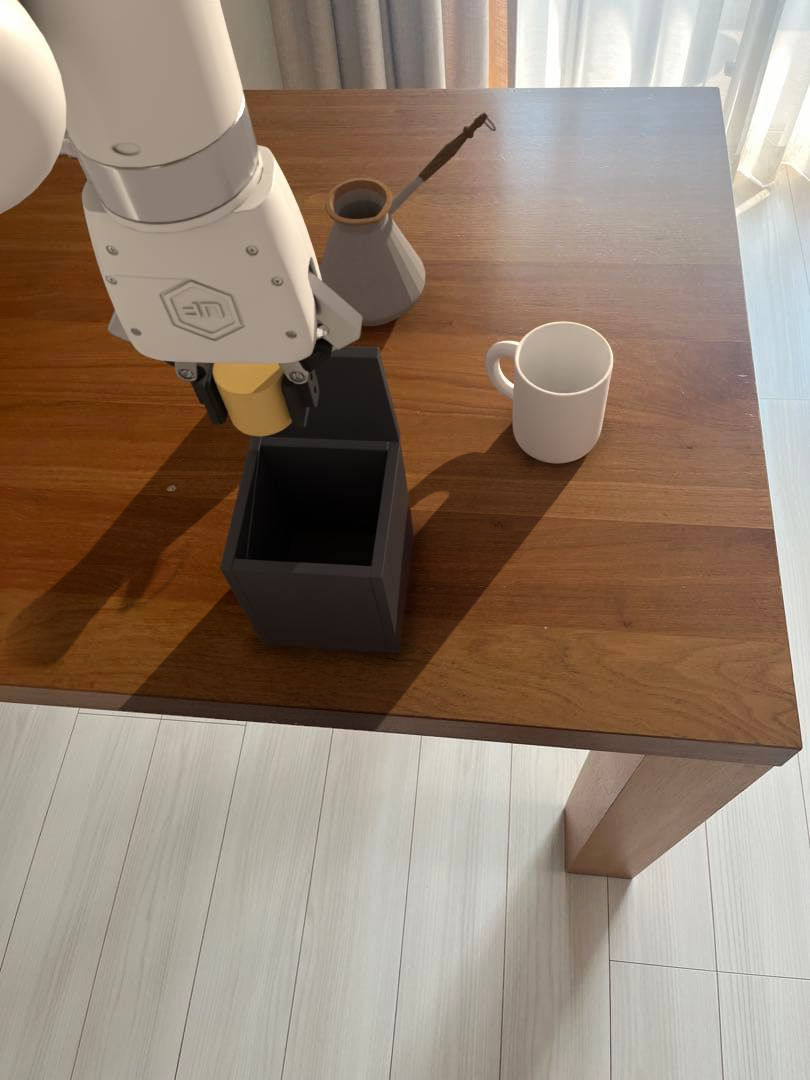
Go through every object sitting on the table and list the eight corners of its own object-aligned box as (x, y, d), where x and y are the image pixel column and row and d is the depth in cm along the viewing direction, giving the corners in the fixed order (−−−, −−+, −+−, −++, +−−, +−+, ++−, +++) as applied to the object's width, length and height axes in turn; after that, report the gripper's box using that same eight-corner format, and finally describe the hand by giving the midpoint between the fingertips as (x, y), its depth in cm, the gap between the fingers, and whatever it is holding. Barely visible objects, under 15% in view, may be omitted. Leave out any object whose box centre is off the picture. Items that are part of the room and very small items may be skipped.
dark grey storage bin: (399, 654, 74) (382, 578, 62) (262, 645, 75) (219, 568, 63) (414, 532, 80) (400, 441, 68) (286, 526, 81) (251, 435, 69)
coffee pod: (239, 445, 54) (221, 404, 50) (222, 393, 56) (204, 350, 52) (307, 423, 54) (295, 380, 51) (289, 372, 56) (275, 327, 53)
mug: (462, 423, 85) (459, 350, 76) (511, 367, 88) (513, 291, 79) (570, 481, 81) (579, 411, 72) (617, 421, 84) (631, 346, 75)
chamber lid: (377, 358, 55) (385, 283, 57) (195, 353, 57) (208, 280, 58) (399, 442, 67) (405, 378, 69) (248, 436, 68) (258, 374, 70)
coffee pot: (357, 357, 90) (335, 241, 77) (300, 293, 96) (271, 175, 83) (523, 263, 95) (528, 139, 82) (460, 207, 100) (456, 82, 87)
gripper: (-37, 207, 38) (119, 452, 54) (347, 207, 36) (392, 462, 52) (18, 99, 42) (148, 358, 58) (369, 92, 40) (405, 363, 56)
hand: (263, 405), depth 55 cm, fingers closed on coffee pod, 4 cm apart
